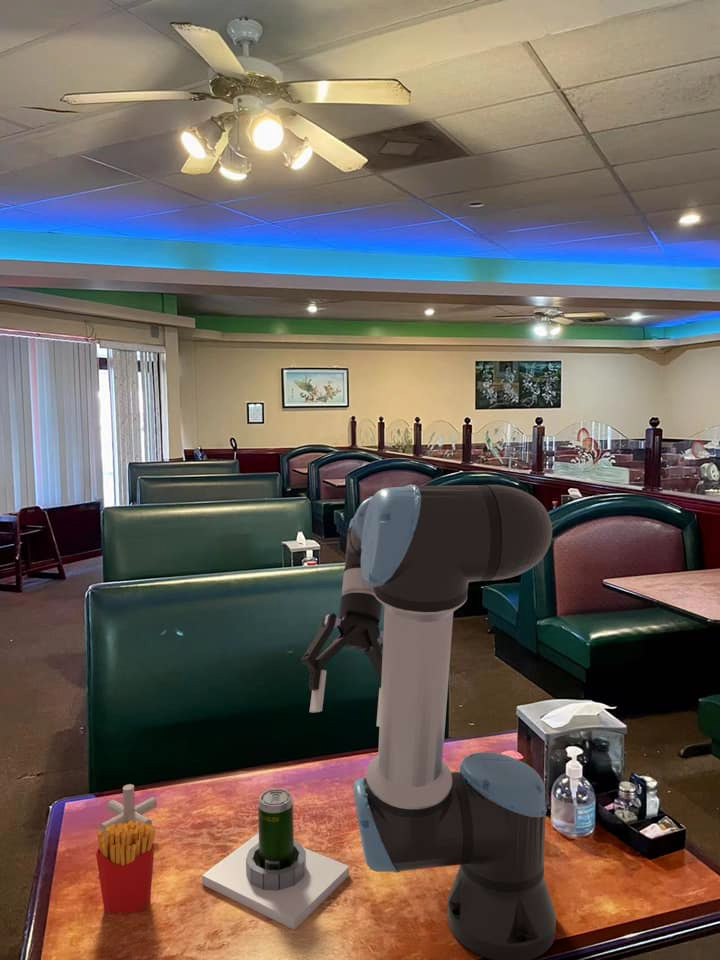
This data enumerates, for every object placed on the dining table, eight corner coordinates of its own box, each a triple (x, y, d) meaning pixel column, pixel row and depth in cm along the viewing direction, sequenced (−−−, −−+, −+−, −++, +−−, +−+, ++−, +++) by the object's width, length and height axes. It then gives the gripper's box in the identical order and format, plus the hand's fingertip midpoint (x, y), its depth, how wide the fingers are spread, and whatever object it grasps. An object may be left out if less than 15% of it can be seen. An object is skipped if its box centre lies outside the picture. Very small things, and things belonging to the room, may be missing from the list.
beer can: (292, 881, 107) (291, 806, 106) (257, 882, 107) (255, 807, 106) (295, 859, 112) (294, 787, 111) (261, 859, 112) (260, 788, 111)
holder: (349, 875, 111) (349, 851, 110) (294, 930, 99) (294, 903, 98) (261, 838, 120) (261, 816, 120) (202, 884, 108) (201, 860, 108)
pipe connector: (122, 870, 112) (120, 810, 111) (86, 847, 118) (84, 790, 117) (173, 839, 120) (171, 783, 119) (137, 819, 126) (135, 766, 125)
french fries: (95, 914, 102) (92, 836, 101) (104, 896, 106) (101, 820, 105) (154, 912, 102) (152, 834, 101) (161, 894, 106) (158, 818, 105)
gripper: (403, 618, 136) (395, 733, 126) (292, 584, 124) (274, 707, 114) (428, 610, 130) (422, 730, 120) (314, 573, 119) (297, 702, 109)
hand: (350, 719), depth 117 cm, fingers open, 13 cm apart
